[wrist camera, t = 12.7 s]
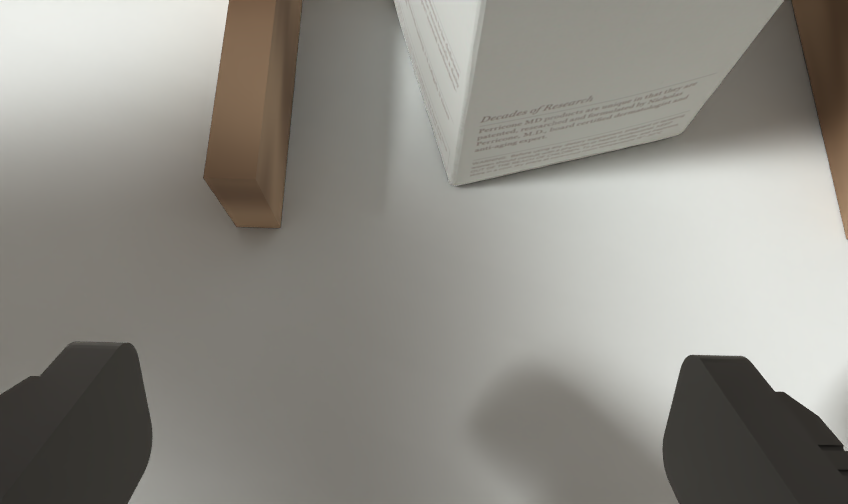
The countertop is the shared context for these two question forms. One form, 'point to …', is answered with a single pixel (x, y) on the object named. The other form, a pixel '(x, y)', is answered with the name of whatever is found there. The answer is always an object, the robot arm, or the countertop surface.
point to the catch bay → (274, 86)
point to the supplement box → (567, 74)
